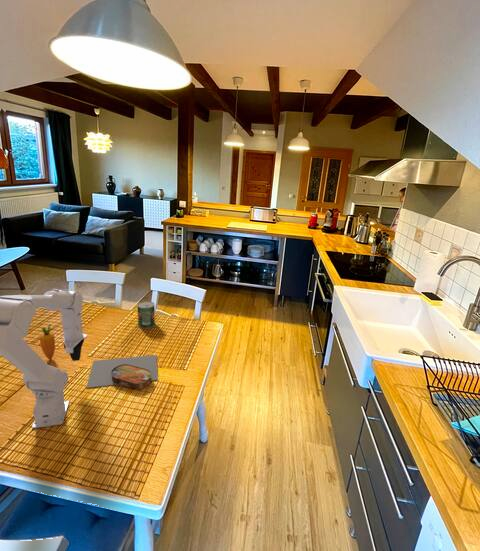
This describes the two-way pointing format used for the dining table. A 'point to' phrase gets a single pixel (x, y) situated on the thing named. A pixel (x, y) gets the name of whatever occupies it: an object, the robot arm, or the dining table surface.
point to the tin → (131, 376)
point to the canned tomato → (146, 314)
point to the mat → (103, 368)
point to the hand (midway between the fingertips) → (76, 359)
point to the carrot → (47, 342)
